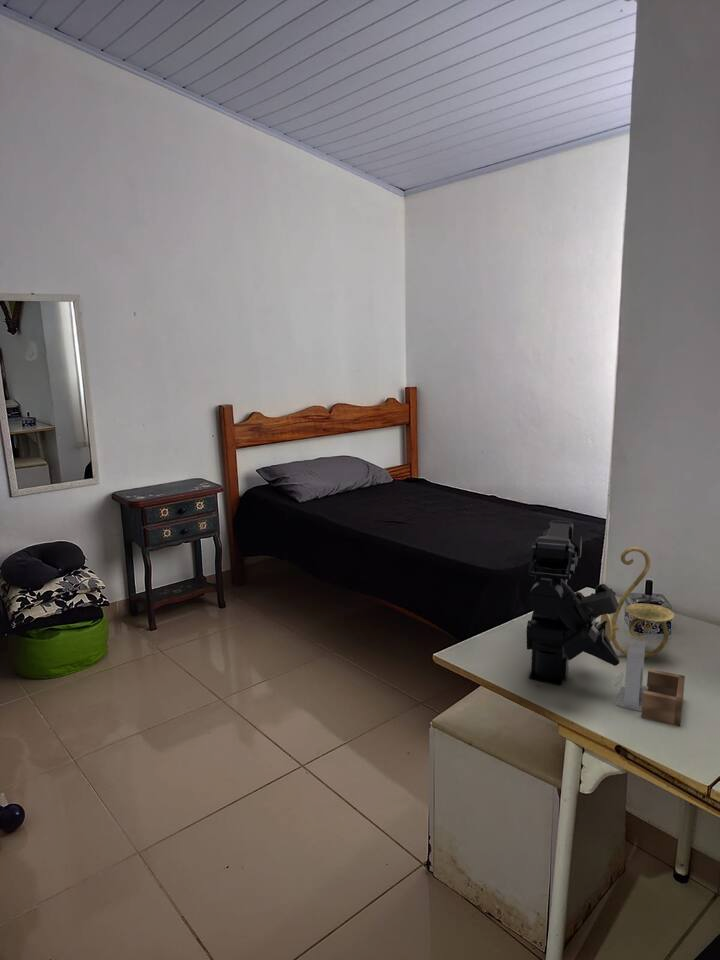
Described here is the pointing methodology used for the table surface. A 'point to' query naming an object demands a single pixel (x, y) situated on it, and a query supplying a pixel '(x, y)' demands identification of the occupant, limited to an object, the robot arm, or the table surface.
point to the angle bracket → (633, 678)
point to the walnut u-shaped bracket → (663, 697)
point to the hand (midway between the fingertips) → (617, 664)
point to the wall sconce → (638, 611)
